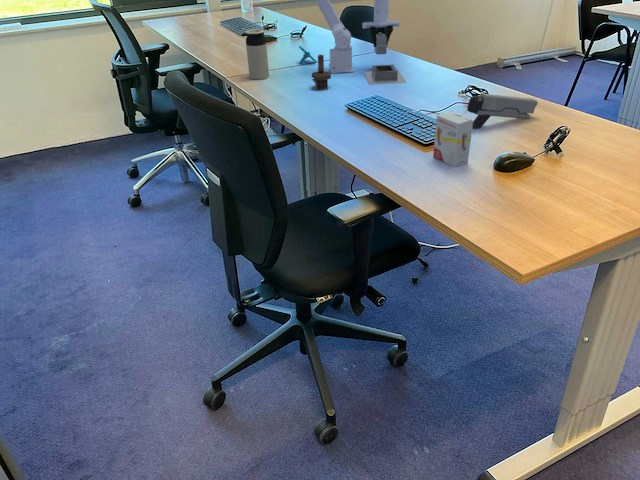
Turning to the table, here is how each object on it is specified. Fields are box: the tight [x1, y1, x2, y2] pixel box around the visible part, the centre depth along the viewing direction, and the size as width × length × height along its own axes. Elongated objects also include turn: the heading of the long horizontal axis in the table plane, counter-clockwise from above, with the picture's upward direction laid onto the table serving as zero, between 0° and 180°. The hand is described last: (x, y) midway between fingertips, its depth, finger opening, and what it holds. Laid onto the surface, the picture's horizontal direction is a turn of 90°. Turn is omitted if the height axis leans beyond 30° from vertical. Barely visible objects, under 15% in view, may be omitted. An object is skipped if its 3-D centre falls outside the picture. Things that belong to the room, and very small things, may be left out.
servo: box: [373, 32, 388, 55], centre depth 209 cm, size 4×10×7 cm, turn 3°
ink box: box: [432, 110, 474, 168], centre depth 133 cm, size 9×5×12 cm, turn 31°
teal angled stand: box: [298, 45, 318, 64], centre depth 228 cm, size 11×6×10 cm
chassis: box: [363, 64, 406, 85], centre depth 204 cm, size 14×16×4 cm
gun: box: [467, 93, 538, 130], centre depth 156 cm, size 2×25×10 cm, turn 112°
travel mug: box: [245, 28, 270, 80], centre depth 207 cm, size 8×8×18 cm
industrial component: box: [311, 54, 332, 90], centre depth 193 cm, size 9×7×12 cm
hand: (380, 46), depth 210 cm, fingers closed on servo, 4 cm apart
